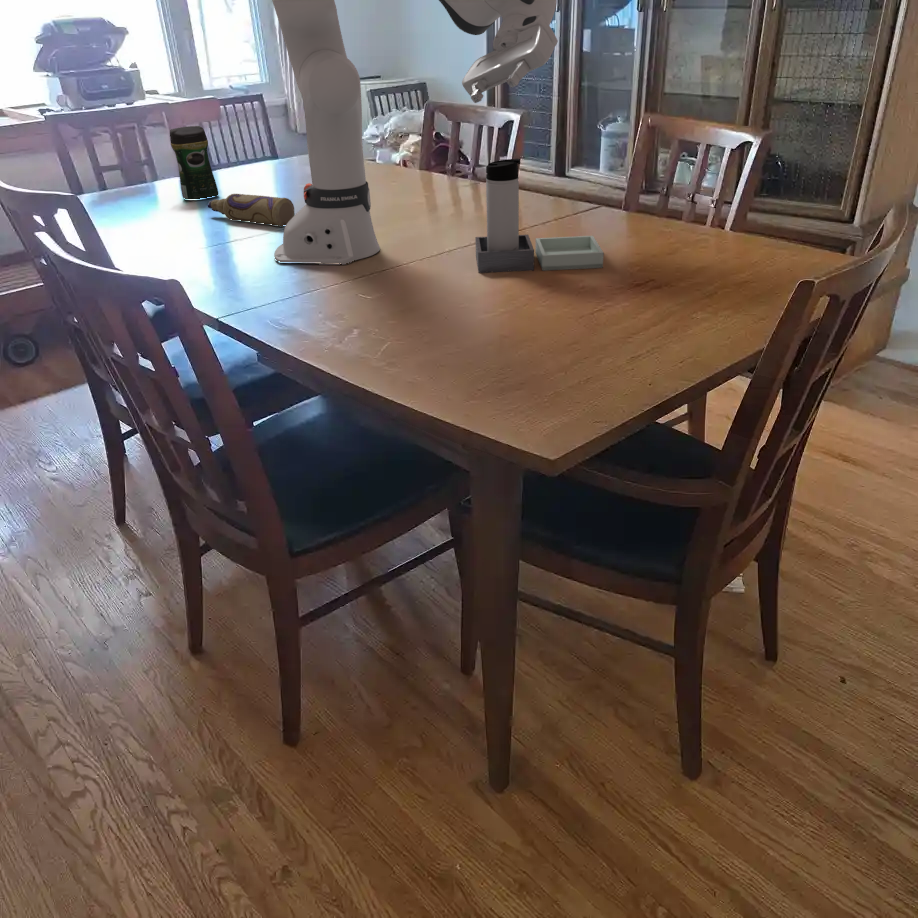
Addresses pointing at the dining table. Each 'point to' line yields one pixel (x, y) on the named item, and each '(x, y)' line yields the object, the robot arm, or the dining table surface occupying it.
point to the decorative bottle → (255, 208)
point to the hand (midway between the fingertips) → (493, 92)
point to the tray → (569, 253)
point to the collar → (505, 257)
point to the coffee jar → (193, 162)
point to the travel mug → (502, 205)
